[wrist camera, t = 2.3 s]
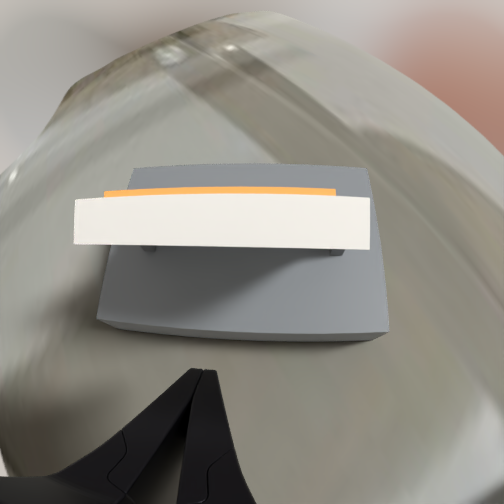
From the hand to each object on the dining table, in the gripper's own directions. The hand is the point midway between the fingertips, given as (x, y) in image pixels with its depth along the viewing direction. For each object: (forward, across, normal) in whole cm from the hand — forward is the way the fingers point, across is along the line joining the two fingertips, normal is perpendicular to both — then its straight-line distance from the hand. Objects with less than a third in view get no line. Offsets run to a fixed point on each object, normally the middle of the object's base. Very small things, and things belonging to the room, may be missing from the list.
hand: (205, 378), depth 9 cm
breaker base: (+14, 0, +1) cm, 14 cm away
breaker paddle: (+11, 0, -2) cm, 11 cm away
